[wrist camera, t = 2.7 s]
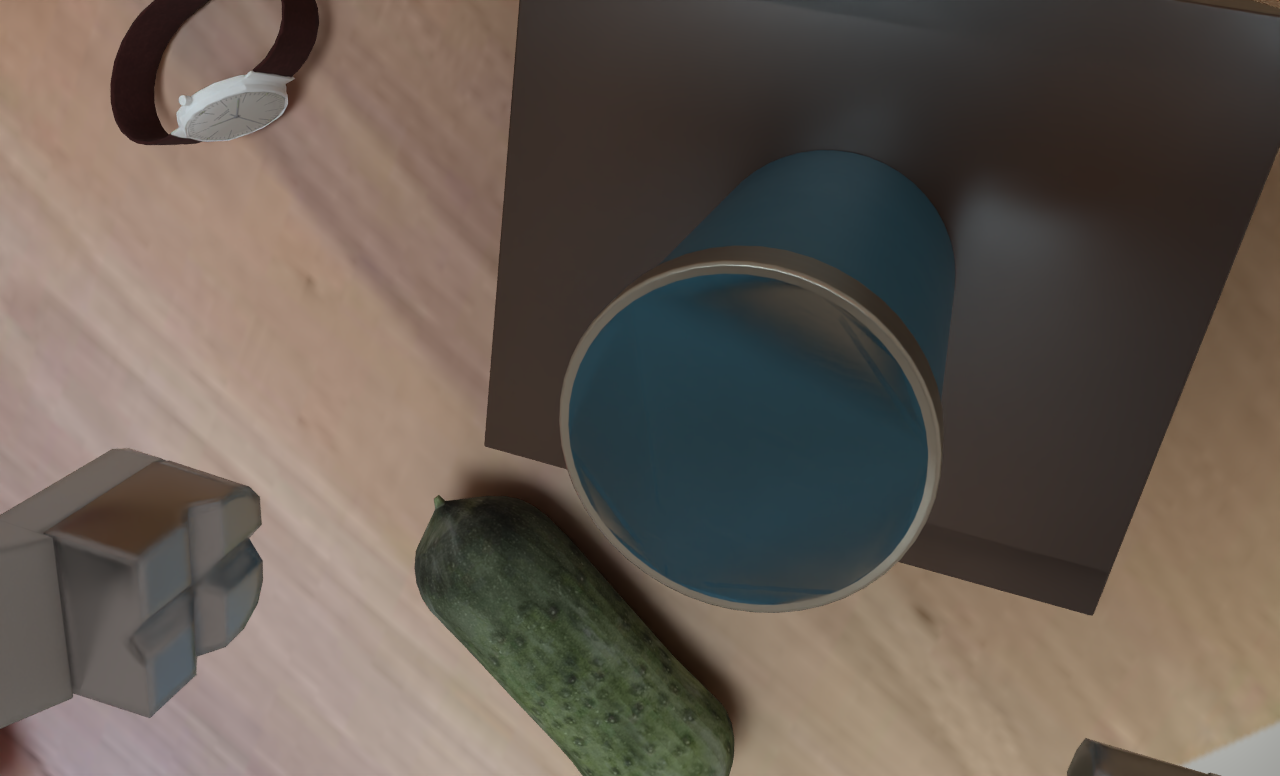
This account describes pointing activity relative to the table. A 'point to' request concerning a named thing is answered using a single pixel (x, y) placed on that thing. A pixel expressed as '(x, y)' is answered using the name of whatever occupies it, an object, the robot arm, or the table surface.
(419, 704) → the table surface
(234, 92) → the watch
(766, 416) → the enamel canister
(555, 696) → the vegetable
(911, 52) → the brown box
